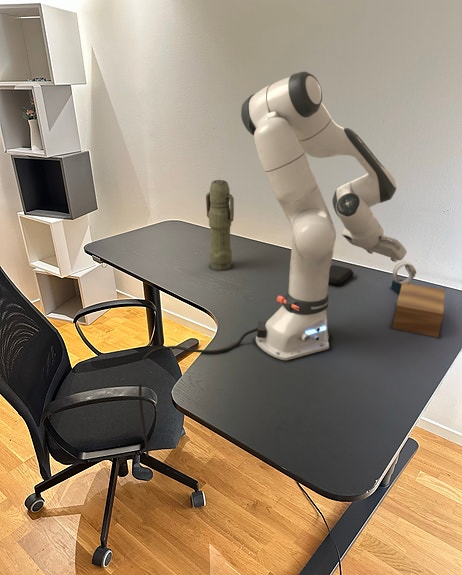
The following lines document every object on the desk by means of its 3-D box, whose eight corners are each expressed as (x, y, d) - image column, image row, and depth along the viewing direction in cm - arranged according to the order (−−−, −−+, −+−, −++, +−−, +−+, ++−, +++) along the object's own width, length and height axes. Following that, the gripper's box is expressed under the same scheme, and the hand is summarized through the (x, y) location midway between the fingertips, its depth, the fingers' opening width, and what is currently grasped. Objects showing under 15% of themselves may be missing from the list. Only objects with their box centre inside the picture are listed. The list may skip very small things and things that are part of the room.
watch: (415, 292, 158) (420, 264, 153) (395, 295, 157) (400, 266, 152) (406, 286, 163) (411, 258, 158) (386, 288, 161) (391, 260, 157)
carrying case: (342, 289, 161) (356, 275, 172) (342, 281, 160) (357, 268, 171) (315, 282, 167) (331, 269, 178) (316, 274, 166) (332, 262, 177)
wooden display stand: (438, 337, 131) (443, 313, 127) (392, 328, 136) (396, 305, 132) (439, 311, 146) (444, 289, 142) (398, 303, 151) (402, 282, 147)
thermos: (212, 260, 188) (210, 177, 173) (238, 264, 183) (238, 180, 168) (203, 267, 181) (200, 182, 166) (229, 272, 176) (228, 184, 161)
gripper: (402, 233, 129) (416, 257, 138) (348, 217, 144) (363, 240, 153) (390, 250, 129) (405, 273, 138) (337, 233, 144) (354, 254, 153)
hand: (383, 255), depth 146 cm, fingers open, 8 cm apart
